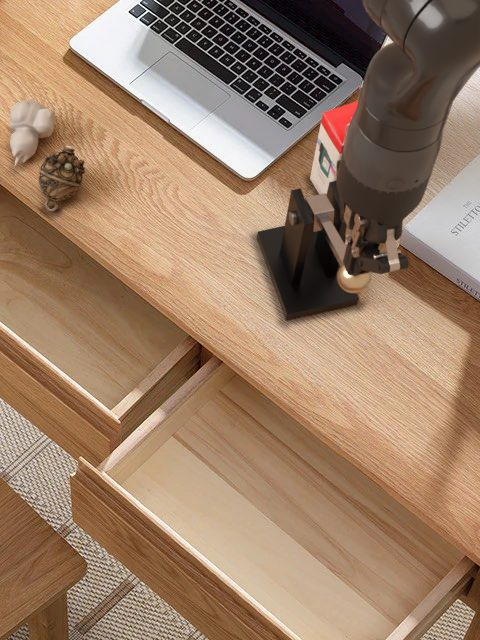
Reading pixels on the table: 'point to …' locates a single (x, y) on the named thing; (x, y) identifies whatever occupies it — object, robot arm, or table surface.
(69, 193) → the pendant
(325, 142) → the ink box
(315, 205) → the lever with brass knob
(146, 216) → the table surface
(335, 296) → the lever base
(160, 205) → the table surface
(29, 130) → the white lobed figurine
